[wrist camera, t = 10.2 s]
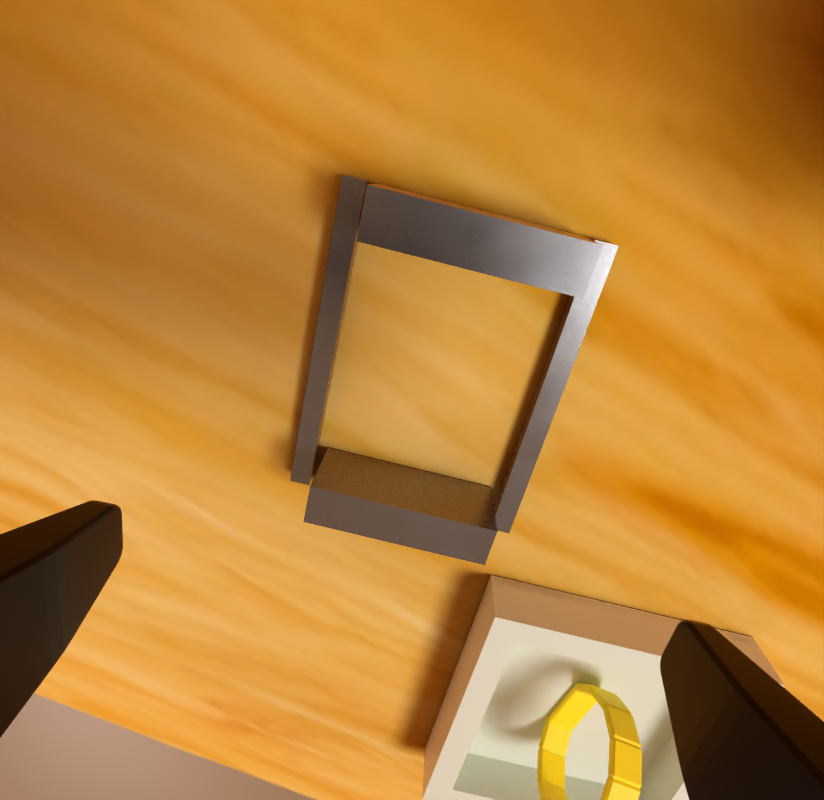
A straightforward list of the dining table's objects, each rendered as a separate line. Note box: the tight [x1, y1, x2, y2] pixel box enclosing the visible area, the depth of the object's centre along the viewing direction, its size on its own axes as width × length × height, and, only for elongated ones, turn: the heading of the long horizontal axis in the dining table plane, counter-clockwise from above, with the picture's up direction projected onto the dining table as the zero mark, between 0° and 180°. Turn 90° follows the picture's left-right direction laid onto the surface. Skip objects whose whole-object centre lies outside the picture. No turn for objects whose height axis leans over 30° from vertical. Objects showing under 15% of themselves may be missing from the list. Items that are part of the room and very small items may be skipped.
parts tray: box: [422, 575, 785, 800], centre depth 25 cm, size 12×12×2 cm
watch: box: [537, 682, 642, 800], centre depth 23 cm, size 6×3×6 cm, turn 155°
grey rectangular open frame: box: [290, 175, 618, 565], centre depth 19 cm, size 9×12×3 cm
